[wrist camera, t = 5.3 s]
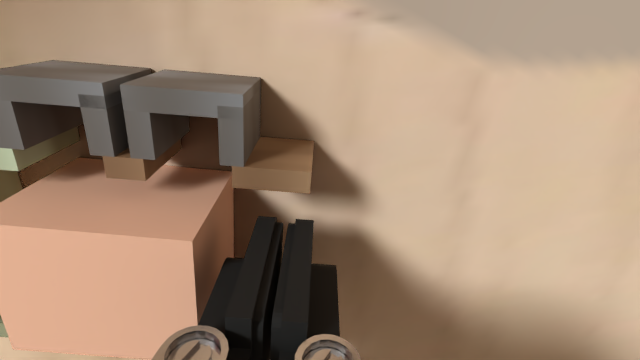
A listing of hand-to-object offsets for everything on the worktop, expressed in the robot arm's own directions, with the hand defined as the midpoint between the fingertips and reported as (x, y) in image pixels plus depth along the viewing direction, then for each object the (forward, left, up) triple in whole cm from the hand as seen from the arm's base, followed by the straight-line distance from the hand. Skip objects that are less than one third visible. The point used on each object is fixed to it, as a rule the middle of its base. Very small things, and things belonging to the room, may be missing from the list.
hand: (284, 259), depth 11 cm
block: (+4, 0, -2) cm, 5 cm away
